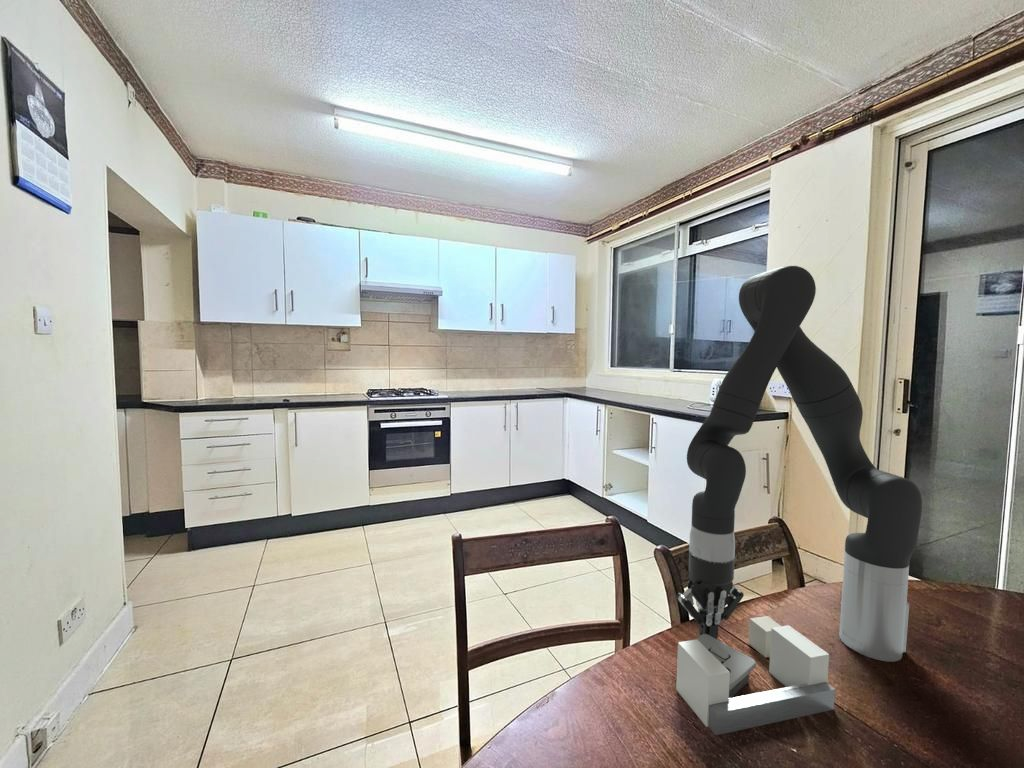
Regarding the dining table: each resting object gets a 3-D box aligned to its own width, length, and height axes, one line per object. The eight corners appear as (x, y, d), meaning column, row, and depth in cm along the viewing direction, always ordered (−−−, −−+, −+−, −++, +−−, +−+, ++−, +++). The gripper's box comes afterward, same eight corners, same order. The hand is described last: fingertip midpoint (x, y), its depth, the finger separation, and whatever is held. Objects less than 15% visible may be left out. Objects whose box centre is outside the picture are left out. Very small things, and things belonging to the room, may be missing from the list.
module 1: (694, 684, 72) (696, 638, 71) (727, 723, 64) (729, 671, 64) (675, 688, 71) (677, 641, 71) (706, 727, 64) (709, 675, 63)
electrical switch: (731, 687, 66) (677, 643, 74) (723, 714, 67) (671, 669, 75) (759, 662, 72) (707, 624, 79) (751, 688, 73) (700, 648, 80)
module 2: (784, 668, 76) (787, 624, 75) (825, 703, 68) (829, 654, 68) (767, 671, 75) (770, 626, 75) (807, 706, 68) (810, 657, 67)
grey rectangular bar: (822, 701, 69) (823, 679, 69) (833, 710, 67) (835, 689, 67) (706, 725, 64) (707, 702, 64) (715, 736, 62) (716, 713, 62)
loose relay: (766, 641, 83) (767, 615, 83) (783, 655, 80) (785, 628, 79) (748, 643, 83) (749, 618, 82) (765, 658, 79) (766, 631, 78)
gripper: (728, 538, 84) (725, 623, 86) (667, 545, 82) (664, 633, 83) (758, 556, 77) (754, 649, 79) (691, 564, 74) (688, 660, 76)
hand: (708, 640), depth 81 cm, fingers closed
